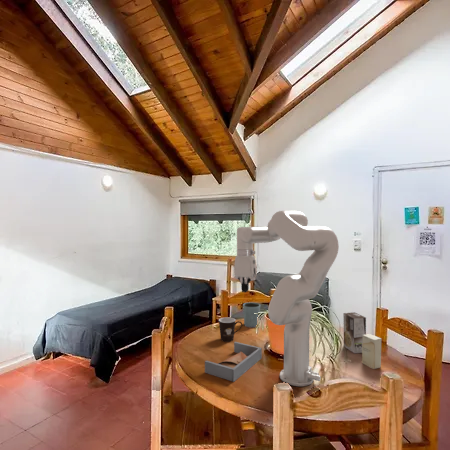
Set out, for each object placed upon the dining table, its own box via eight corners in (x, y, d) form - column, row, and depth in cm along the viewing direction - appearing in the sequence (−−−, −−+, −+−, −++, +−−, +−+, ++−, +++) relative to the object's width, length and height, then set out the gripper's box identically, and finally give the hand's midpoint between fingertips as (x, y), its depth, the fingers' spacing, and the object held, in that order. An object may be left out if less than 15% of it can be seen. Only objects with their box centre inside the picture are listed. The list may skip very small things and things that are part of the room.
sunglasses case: (231, 378, 118) (224, 361, 120) (218, 383, 122) (212, 366, 124) (256, 362, 132) (249, 346, 134) (244, 366, 136) (238, 351, 138)
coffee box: (366, 352, 141) (366, 317, 141) (353, 353, 140) (353, 318, 140) (355, 344, 150) (355, 311, 150) (343, 345, 149) (343, 312, 149)
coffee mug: (217, 341, 155) (216, 322, 155) (220, 335, 163) (220, 316, 163) (239, 343, 152) (239, 323, 152) (242, 337, 161) (242, 318, 160)
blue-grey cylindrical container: (253, 321, 187) (253, 301, 187) (264, 326, 179) (263, 305, 178) (239, 324, 182) (239, 303, 182) (249, 329, 173) (249, 307, 173)
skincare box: (361, 363, 131) (361, 334, 131) (369, 361, 133) (369, 333, 133) (374, 369, 125) (374, 339, 125) (381, 367, 127) (381, 338, 127)
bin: (261, 358, 136) (261, 347, 136) (233, 381, 116) (233, 369, 116) (235, 351, 143) (235, 341, 143) (204, 372, 123) (204, 361, 123)
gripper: (262, 253, 145) (262, 292, 145) (235, 251, 153) (235, 288, 153) (255, 254, 139) (255, 295, 139) (227, 253, 147) (227, 291, 147)
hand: (244, 291), depth 146 cm, fingers closed
